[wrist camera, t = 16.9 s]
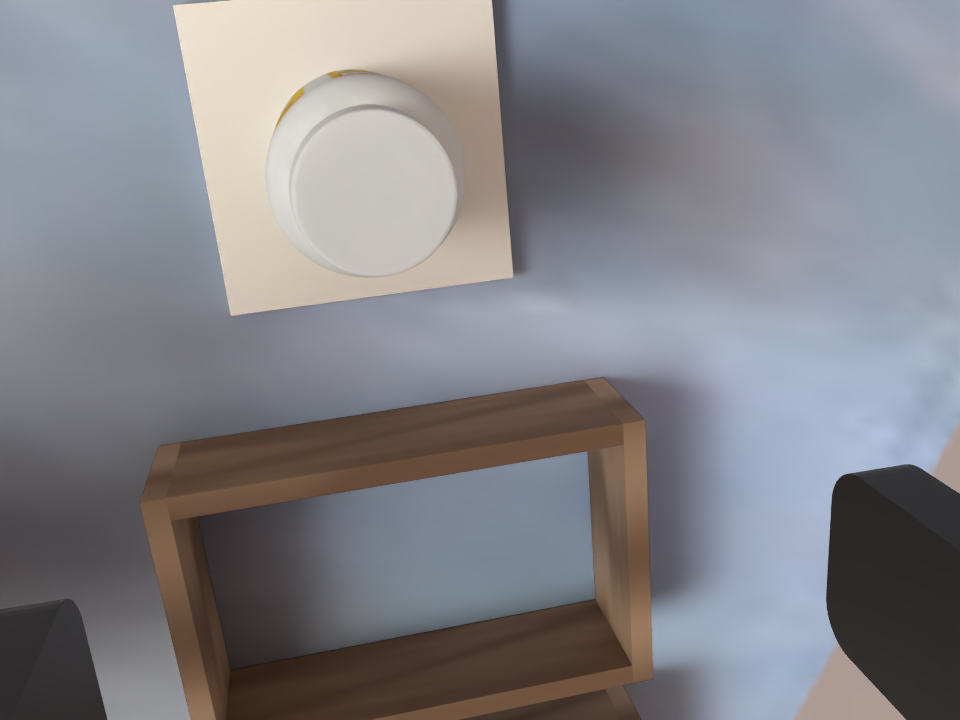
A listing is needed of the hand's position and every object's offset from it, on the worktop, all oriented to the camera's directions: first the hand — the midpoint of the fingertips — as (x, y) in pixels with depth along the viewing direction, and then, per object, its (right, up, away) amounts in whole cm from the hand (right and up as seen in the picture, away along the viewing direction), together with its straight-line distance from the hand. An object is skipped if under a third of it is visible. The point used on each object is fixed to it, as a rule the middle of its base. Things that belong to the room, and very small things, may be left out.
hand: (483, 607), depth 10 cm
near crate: (-3, -4, +26) cm, 27 cm away
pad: (-4, +10, +22) cm, 24 cm away
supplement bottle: (-4, +10, +21) cm, 24 cm away
